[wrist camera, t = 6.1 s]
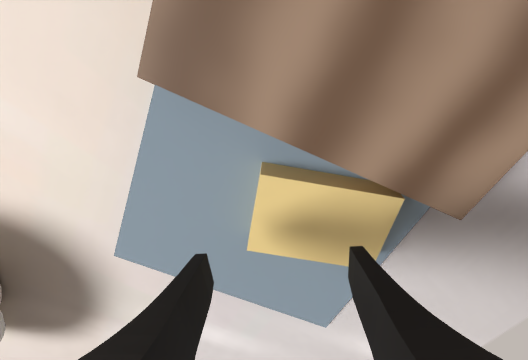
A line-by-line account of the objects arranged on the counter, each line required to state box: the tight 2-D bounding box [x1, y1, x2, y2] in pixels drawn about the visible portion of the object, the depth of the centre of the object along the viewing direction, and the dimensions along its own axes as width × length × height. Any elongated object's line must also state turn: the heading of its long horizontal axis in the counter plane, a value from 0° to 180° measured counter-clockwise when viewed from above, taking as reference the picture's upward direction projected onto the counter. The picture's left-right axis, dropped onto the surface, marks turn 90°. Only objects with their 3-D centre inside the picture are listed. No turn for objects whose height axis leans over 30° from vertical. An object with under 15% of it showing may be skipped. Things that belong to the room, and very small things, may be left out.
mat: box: [114, 85, 430, 328], centre depth 21 cm, size 20×15×1 cm
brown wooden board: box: [137, 0, 528, 220], centre depth 14 cm, size 20×12×3 cm, turn 66°
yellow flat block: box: [247, 162, 405, 267], centre depth 18 cm, size 9×6×2 cm, turn 80°
